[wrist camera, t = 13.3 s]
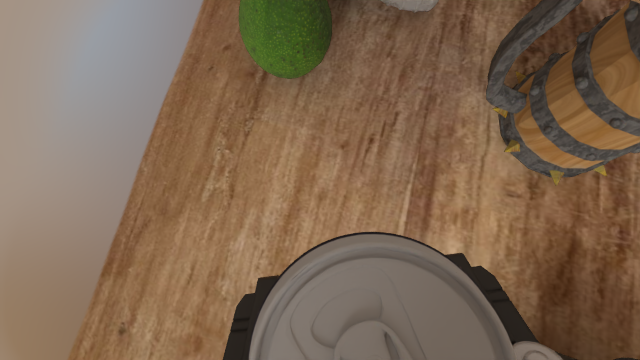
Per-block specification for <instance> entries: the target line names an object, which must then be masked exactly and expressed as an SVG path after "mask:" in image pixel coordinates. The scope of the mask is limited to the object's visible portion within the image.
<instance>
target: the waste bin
mask: <svg viewBox="0 0 640 360" xmlns="http://www.w3.org/2000/svg"><path fill="white" fill-rule="evenodd" d="M555 352H556V351H555ZM556 353H557V354H558V355H559V356H560V357H561V358H562V359H563V360H577V359H574V358H572V357H569V356H566V355H564V354H561V353H558V352H556Z"/></svg>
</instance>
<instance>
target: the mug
mask: <svg viewBox="0 0 640 360" xmlns="http://www.w3.org/2000/svg"><path fill="white" fill-rule="evenodd" d="M581 1H582V0H542V1H541V2H540V3H539V4H538V5H537V6H536V7H534V8H533V9H532V10H531V11H530V12H529V13H528V14H527V15H526V16H524V17H523V18H522V19H521V20H520V21H519V22H518V23H517V25H516V26H515V27H514V28H513V29H512V30H511V31H510V32H509V34H508V35H507V36H506V37H505V38H504V39H503V40H502V41H501V43H500V45H499V47H498V49H497V51H496V53H495V55H494V57H493V59H492V61H491V65H490V69H489V73H488V86H487V90H486V99H487V101H488V102H489V103H491V104H492V105H494V106H496V108H492V109H493V110H495V111H496V112H498V113H499V123H500V131H501V136H502V138H503V139H504V141H505V143H506V145H507V148H506V149H505V151H504V152H511V154H512V155H513V156H515V157H516V158H517V159H518V160H519V161H520V162H522V163H523V164H524V165H525V166H526V167H527V168H529V169H531V170H534V171H536V172H539V173H541V174H544V175H546V176H549V177H552V178H553V180H554V183H555V185H557V184H558V182H559V181H560V179H561V178H562V177H573V176H576V175H578V174H581V173H585V172H588V171H590V170H595V171H597V172H599V173H601V174H603V175H605V176H607V175H606V172H605V169H604V166H603V165H605V164H607V163H608V162H609V161H610V160H613V159H615V158H617V157H620V156H622V155H625V154H627V153H630V152H632V153H639V152H640V0H630V2H629V3H628V4H626V5H625V6H624V7H623V8H622V9H619V10H617V11H615V12H614V13H613V15H611V16H608V17H605V18H604V19H603V20H602V21H601V22H600V23H598V24H597V25H596V26H595V27H594V28H592V29H591V30H590V31H589V32H584V33H581V34H580V35H579V36H578V37H577V39H576V41H577V43H578V44H577V46H576V47H574V48H573V49H572V50H570V51H568V52H566V53H563V54H561V55H560V54H559V53H553V54H551V55H550V56H549V61H548V62H547V63H546V64H545V65H544V66H543V67H542V68H541V69H540V70H538V71H536V72H533V73H531V74H528V75H527V76H525V75H523V74H521V73H519V72H517V71H515V72H516V76H517V79H518V84H517V85H516V86H515V87H514V88H513V89H511V88H509V87H508V86H506V85H505V84H504V79H505V76H506V74H507V72H508V71H509V69H510V67H511V66H512V64H513V62H514V61H515V59H516V58H517V57H518V56H519V55H520V54H521V53H522V52H523V51H524V50H525V49H526V48H527V47H529V46H530V45H531V44H532V43H533V42H534V41H535V40H536V39H537V38H539V37H540V36H541V35H543V34H544V33H545V32H546V31H548V30H549V29H550V28H552V27H553V26H554V25H555V24H557V23H558V22H559V21H560V20H561V19H562V18H564V17H565V16H566V15H567V14H568V13H569V12H570V11H572V10H573V9H574V8H575V7H576V6H577V5H578V4H579V3H580V2H581Z"/></svg>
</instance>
